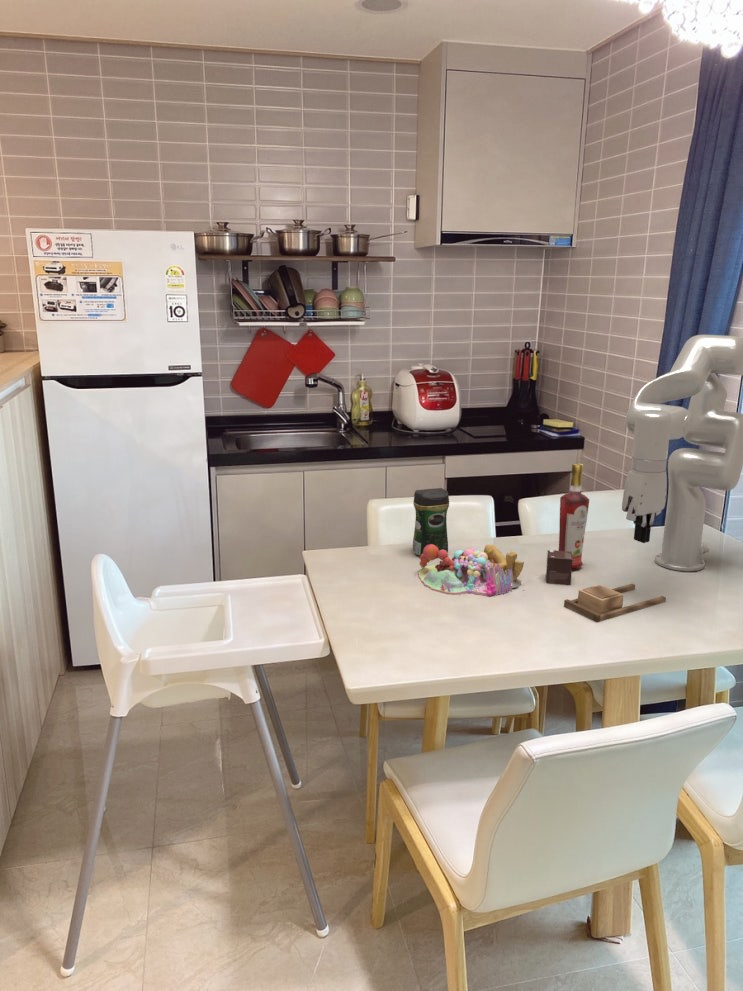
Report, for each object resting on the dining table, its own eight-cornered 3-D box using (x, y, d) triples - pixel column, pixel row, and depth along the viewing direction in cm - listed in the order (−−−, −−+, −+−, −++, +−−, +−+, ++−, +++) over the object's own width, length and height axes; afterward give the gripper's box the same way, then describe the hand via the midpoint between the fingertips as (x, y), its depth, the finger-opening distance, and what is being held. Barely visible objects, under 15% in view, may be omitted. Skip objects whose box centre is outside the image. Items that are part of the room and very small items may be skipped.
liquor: (573, 561, 208) (581, 460, 201) (588, 570, 202) (598, 466, 194) (549, 563, 206) (557, 462, 199) (564, 573, 199) (573, 468, 192)
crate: (598, 600, 181) (600, 583, 180) (621, 610, 175) (623, 593, 174) (577, 606, 178) (578, 589, 177) (600, 617, 172) (602, 599, 171)
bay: (631, 589, 189) (632, 581, 189) (665, 603, 181) (666, 595, 180) (563, 608, 178) (564, 600, 177) (596, 623, 169) (597, 615, 169)
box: (570, 587, 190) (573, 559, 188) (545, 585, 192) (548, 557, 190) (569, 578, 196) (571, 551, 194) (545, 576, 197) (547, 549, 195)
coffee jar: (439, 547, 218) (442, 484, 213) (451, 556, 211) (454, 491, 206) (408, 551, 215) (409, 486, 210) (419, 560, 208) (421, 494, 203)
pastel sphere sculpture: (483, 559, 210) (485, 527, 208) (538, 589, 190) (541, 553, 187) (404, 573, 199) (405, 539, 197) (453, 606, 179) (455, 569, 176)
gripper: (657, 457, 181) (649, 530, 186) (613, 466, 173) (606, 542, 179) (684, 463, 175) (675, 539, 180) (639, 473, 167) (632, 552, 173)
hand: (641, 540), depth 179 cm, fingers closed
